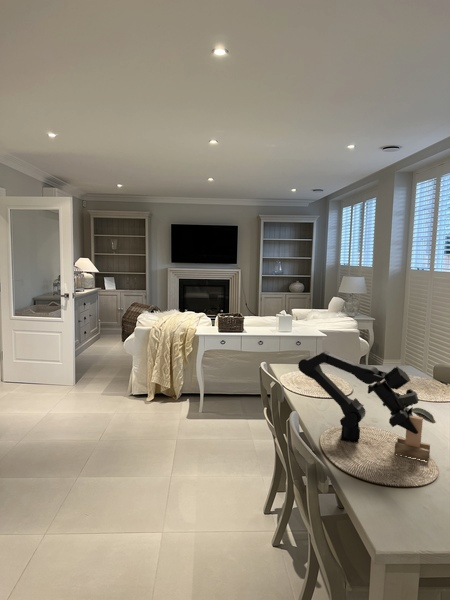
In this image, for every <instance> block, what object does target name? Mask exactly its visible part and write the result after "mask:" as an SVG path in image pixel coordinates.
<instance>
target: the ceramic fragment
mask: <svg viewBox="0 0 450 600" xmlns="http://www.w3.org/2000/svg"><path fill="white" fill-rule="evenodd" d="M412 413H416V414H422V415H423V416H425V417H426V418H428V419H429V420H430V421H431V422H432V423H437V421H436V420H435V418H434V416H433V413H431V412H430V411H428V410H426V409H425V408H422V407H413V411H412Z"/></svg>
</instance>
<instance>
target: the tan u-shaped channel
mask: <svg viewBox="0 0 450 600" xmlns="http://www.w3.org/2000/svg"><path fill="white" fill-rule="evenodd" d="M405 439H406V438H403V437H399V436H397V439H396V440H397V442H396V441H395V442H394V443H395V444H394V452H393V453H394V454H397V455H402V456H407V457H411V458H416V459H420V460H425V461H428V462H429V458H428V457H430V454H431V452H430V450H431V444H430V443H425V442H422V441H421V447H420V448H418V447H414V446H410V445H406V444H405ZM394 454H393V455H394ZM397 455H396V456H397Z"/></svg>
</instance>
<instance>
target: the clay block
mask: <svg viewBox="0 0 450 600" xmlns="http://www.w3.org/2000/svg"><path fill="white" fill-rule="evenodd" d="M410 420H411V422H412V423H413V425H414V426H415V428H416V429H417V431H418V433H417V434H414V433H412V432H411V431H409V430H407V429H405V438H404V439H405V444H406V445H410V446H414V447H418V448H420V447H421V442H422V433H423V421H424V417H422V416H416V415H413V416H412V415H410Z"/></svg>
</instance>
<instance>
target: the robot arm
mask: <svg viewBox="0 0 450 600" xmlns="http://www.w3.org/2000/svg"><path fill="white" fill-rule="evenodd" d="M324 363H325V364H326V365H330V366H333V367H335V368H337V369H339V370H341V371H344V372H347V373H348V374H351V375H353V376H354V377H355V378H356V379H357V380H359V381H361V382H362V383H364V384H366V385H367V389H368V390H367V394H371V393H372V392H373V393H375V395H376V396H377V397H378V398H379V399H380V401H381V402H382V406H383V407H386V408H387V410H389V411H390V413H389V414H390V415H391V416H390V418H389V419H388V423H389V424H390V426H391V427H392V428H395V426H399V427H401V428H403V429H404V430H406V429H407V430H409V431H411V432H412V433H414V434H417V433H418V431H417V429H416V428H415V426H414V425H413V423H412V422H411V420H410V415H412V416H414V414H413V412H412V411H413V409H414V407H413V405H416V404H418V403H419V397H418V393H417V392H416V391H414V390H413V389H412V388H409V389H407V390H406V393H403V394H400V393H399V392H395V391H394V390H396V391H398V390H399V389H400V388H402V387H403V386H405V385H406V384H408V383H410V382H411V379H410V377H409V375H408V374H407V373H406V371H404V370H403V369H402V368H399V366H398V365H397V366H395V367H393V368H392V369H391V370H390V371H388V372H385V371H383V370H380V369H378V368H377V367H375V366H374V365H369V364H362V363H356V362H355V361H354V362H353V361H351V360H349V359H347V358H343V357H341V356H339V355H336V354H334V353H332V352H329V351H327V350H324V351H322V352H320V353H319V354H318V355H315V356H306V357H304V358H302V359H301V360H299V361H298V365H297V366H298V367H297V368H298V370H299V371H300V372H301V373H302V374H303V375H305V376H306V377H308V378H309V379H312V380H314V381H315V382H316V383H317V384H318V385H319V386H320V387H321V388H322V389H323V390H324V392H326V394H328V395H329V396H330V397H331V399H332V400H333V401H334V402H335V403H336V404H338V406H339V407H340V410H341V412H342V415H344V416H342V418H340V421H339V422H340V425H341V433H340V440H341V441H342V440H344V442H349V441H351V442H352V443H356V442H358V443H359V440H360V435H361V428H360V425H359V423H360V422H361V421H363V419H364V418H365V416H366V409H365V407H364V405H365V404H363V403H361V402H360V401H359V400H358V399H357V398H354V399H351V398H350V397H348V396H347V395H346V393H344V392H343V391H342V390H341V389H340V388H339V387H338V385H336V384H335V383H334V382H333V381H332V380H331V379H330V377H328V376H327V375H326V373H324V371H323V370H322V367H321V365H322V364H324ZM410 406H411V407H410ZM409 407H410V408H409Z"/></svg>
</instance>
